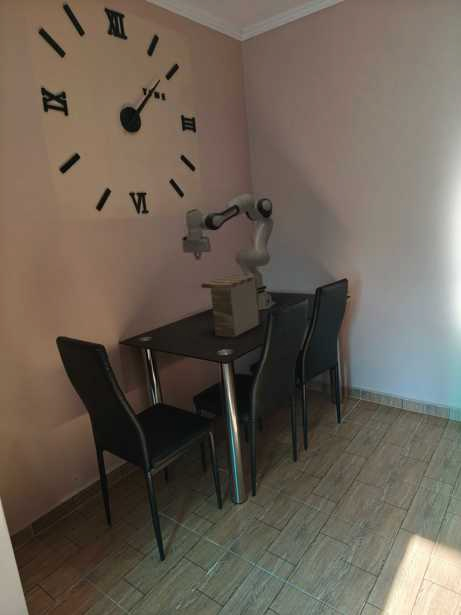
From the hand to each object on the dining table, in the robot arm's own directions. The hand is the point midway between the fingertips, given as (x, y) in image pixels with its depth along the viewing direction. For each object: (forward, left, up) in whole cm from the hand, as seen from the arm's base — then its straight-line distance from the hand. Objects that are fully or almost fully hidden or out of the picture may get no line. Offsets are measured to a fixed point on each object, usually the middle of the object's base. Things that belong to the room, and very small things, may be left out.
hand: (198, 259), depth 251 cm
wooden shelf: (+15, +34, -37) cm, 53 cm away
